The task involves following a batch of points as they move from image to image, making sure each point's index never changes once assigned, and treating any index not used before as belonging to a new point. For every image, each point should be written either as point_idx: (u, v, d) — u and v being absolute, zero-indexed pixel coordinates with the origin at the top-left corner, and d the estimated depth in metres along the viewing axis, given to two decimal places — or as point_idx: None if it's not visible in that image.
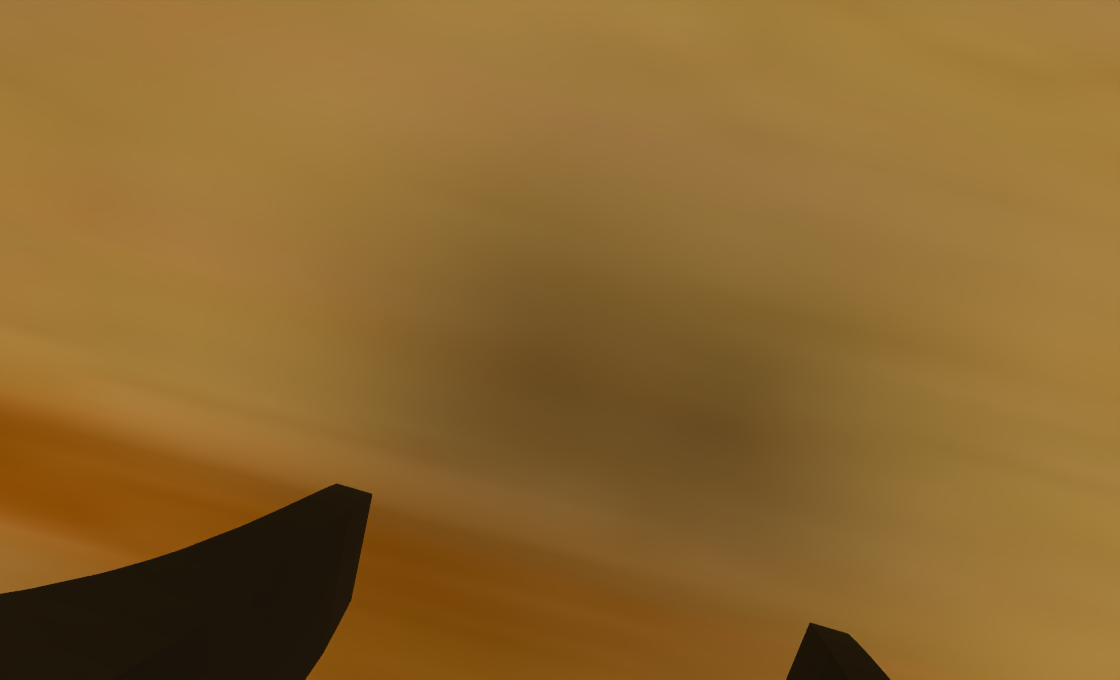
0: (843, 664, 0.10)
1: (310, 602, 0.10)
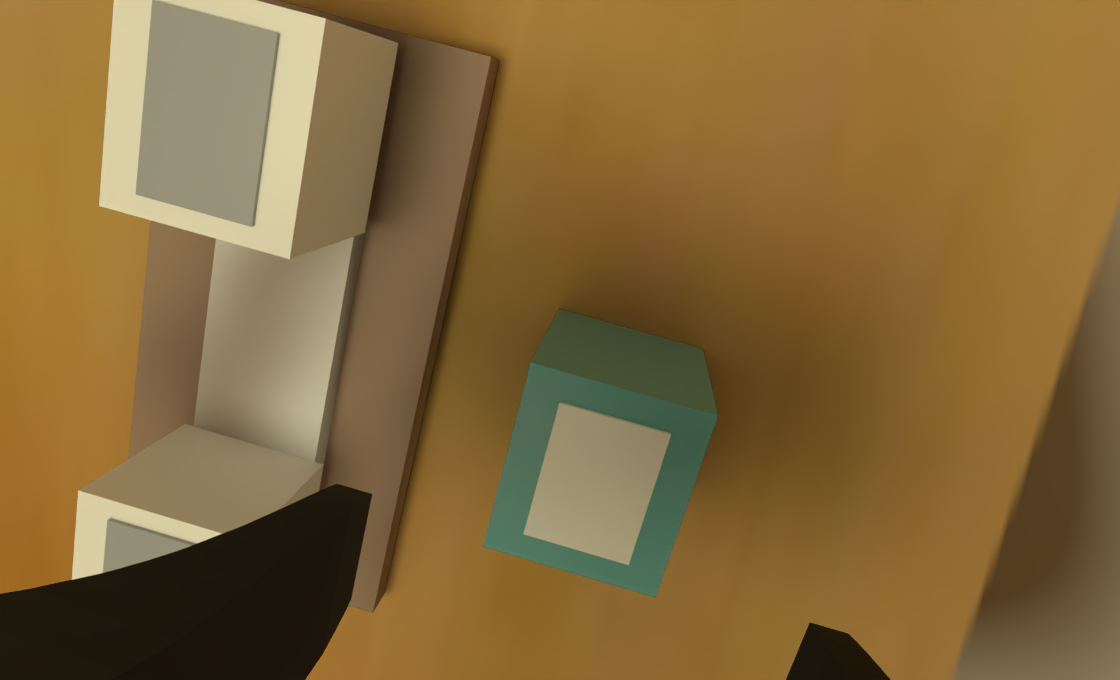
0: (843, 664, 0.10)
1: (310, 602, 0.10)
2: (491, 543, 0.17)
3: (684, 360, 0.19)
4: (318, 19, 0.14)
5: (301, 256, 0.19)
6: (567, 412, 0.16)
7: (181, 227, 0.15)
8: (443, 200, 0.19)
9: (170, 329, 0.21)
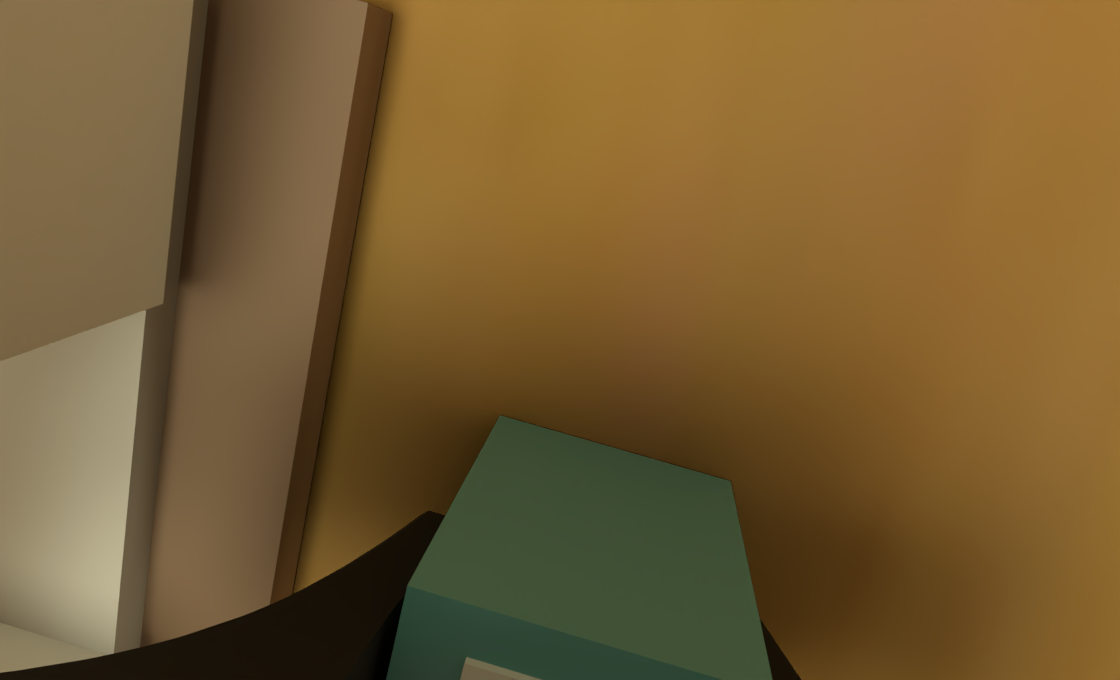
0: None
1: None
2: None
3: (703, 520, 0.11)
4: None
5: (64, 341, 0.11)
6: (482, 675, 0.08)
7: None
8: (300, 247, 0.11)
9: None
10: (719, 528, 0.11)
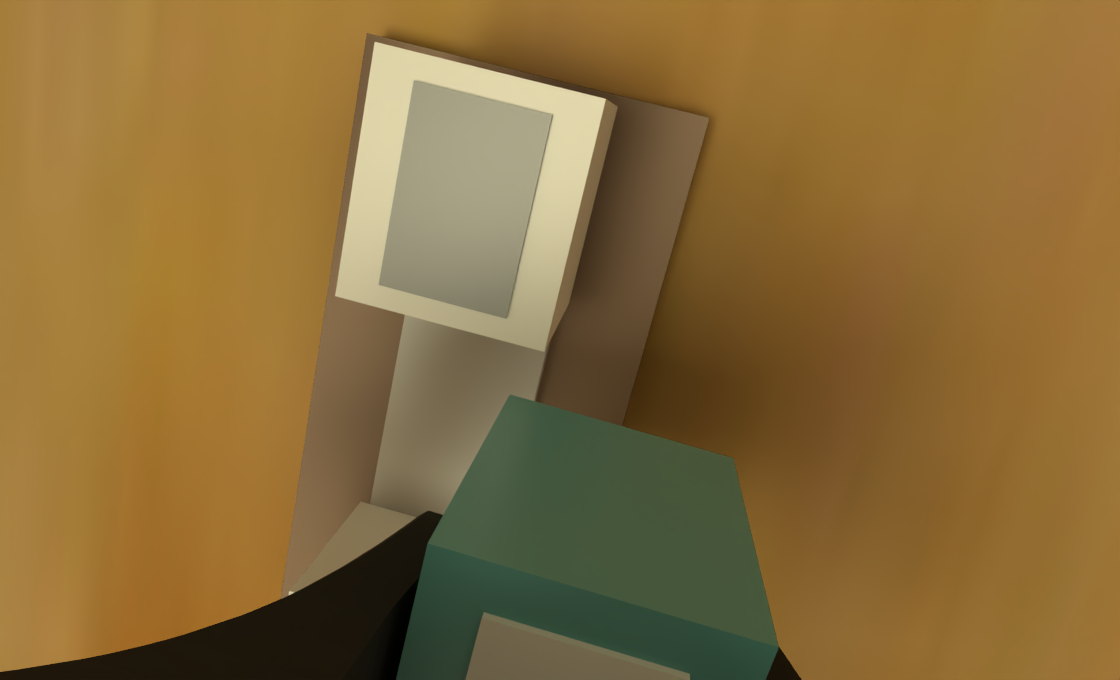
0: None
1: None
2: None
3: (707, 492, 0.11)
4: (597, 99, 0.13)
5: None
6: (498, 630, 0.09)
7: (425, 318, 0.14)
8: (648, 267, 0.18)
9: (342, 401, 0.20)
10: (723, 499, 0.11)
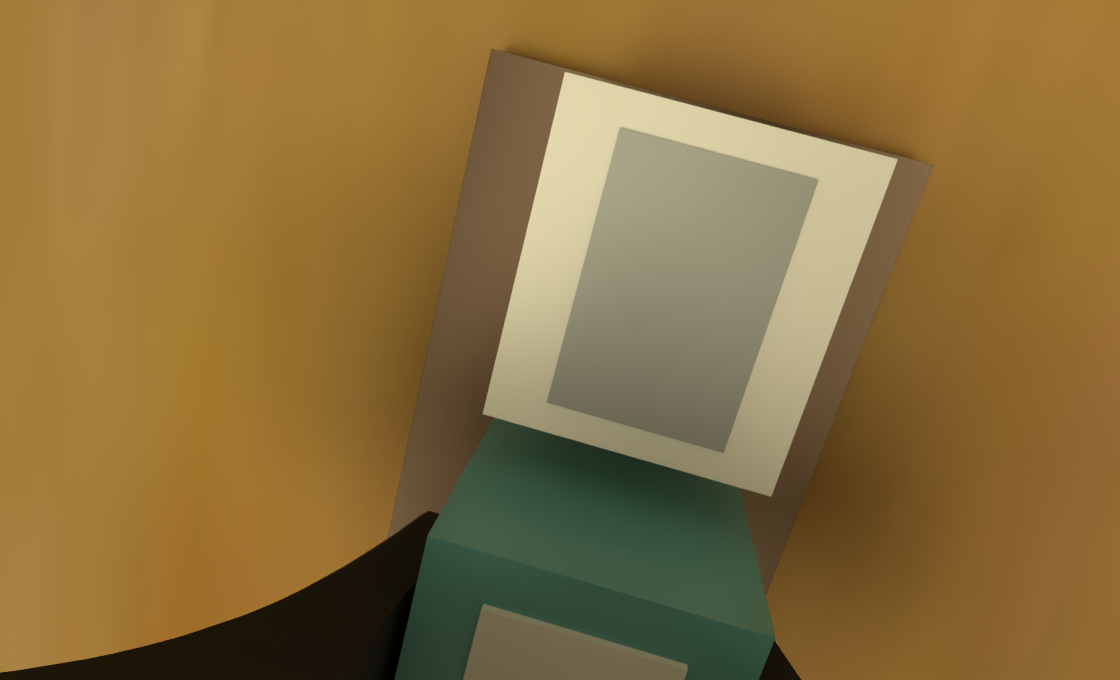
0: None
1: None
2: None
3: (705, 486, 0.12)
4: (884, 160, 0.09)
5: None
6: (498, 622, 0.09)
7: (605, 447, 0.10)
8: (836, 349, 0.14)
9: (436, 499, 0.16)
10: (721, 494, 0.11)
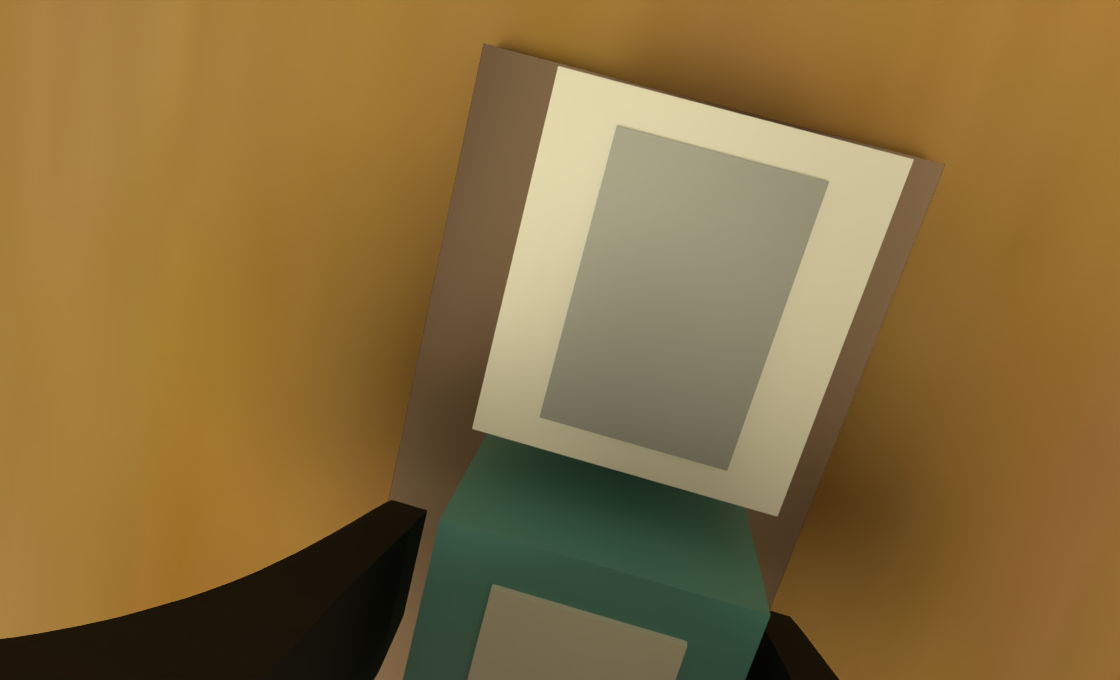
0: (778, 645, 0.10)
1: (373, 621, 0.10)
2: None
3: None
4: (899, 160, 0.08)
5: None
6: (506, 602, 0.09)
7: (602, 463, 0.10)
8: (843, 356, 0.14)
9: (427, 511, 0.16)
10: None
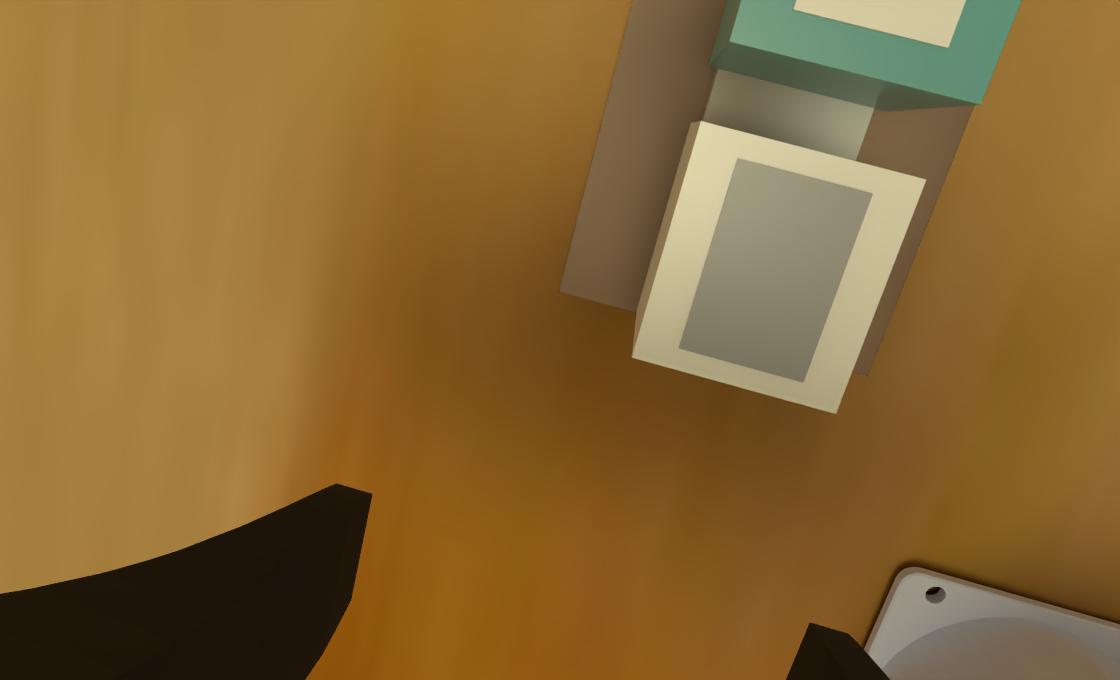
0: (843, 664, 0.10)
1: (310, 602, 0.10)
2: (741, 36, 0.12)
3: None
4: None
5: None
6: None
7: None
8: None
9: (668, 10, 0.17)
10: None
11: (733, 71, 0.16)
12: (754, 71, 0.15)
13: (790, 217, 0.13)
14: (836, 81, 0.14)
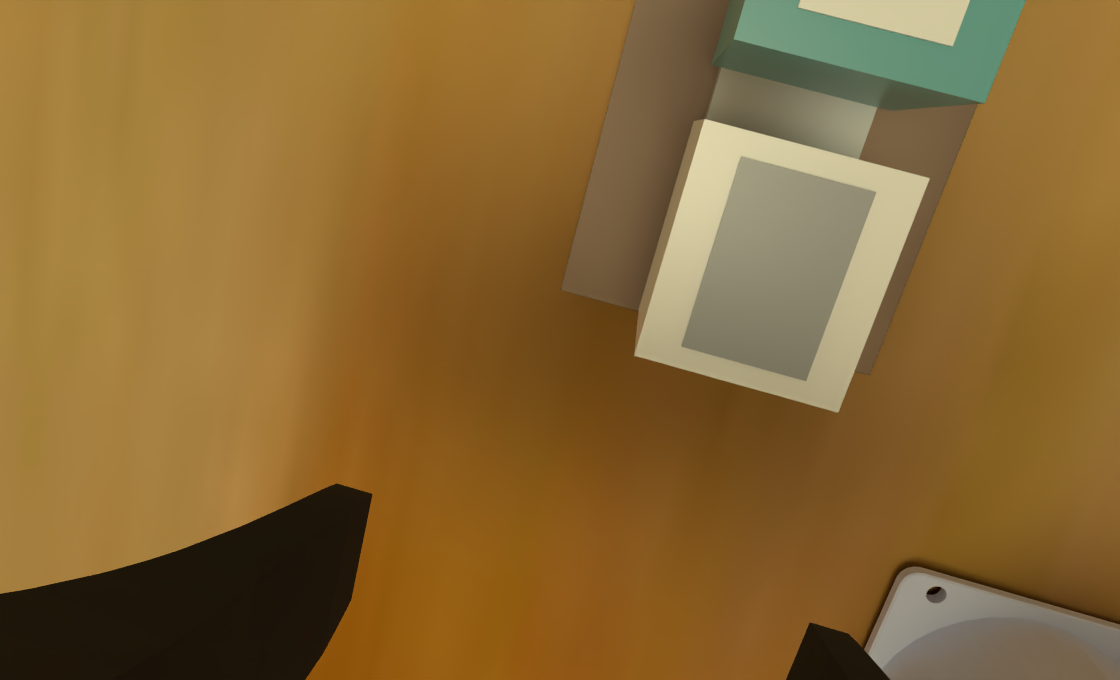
0: (843, 664, 0.10)
1: (310, 602, 0.10)
2: (745, 34, 0.12)
3: None
4: None
5: None
6: None
7: None
8: None
9: (671, 8, 0.17)
10: None
11: (736, 70, 0.16)
12: (757, 70, 0.15)
13: (794, 216, 0.13)
14: (840, 79, 0.13)
